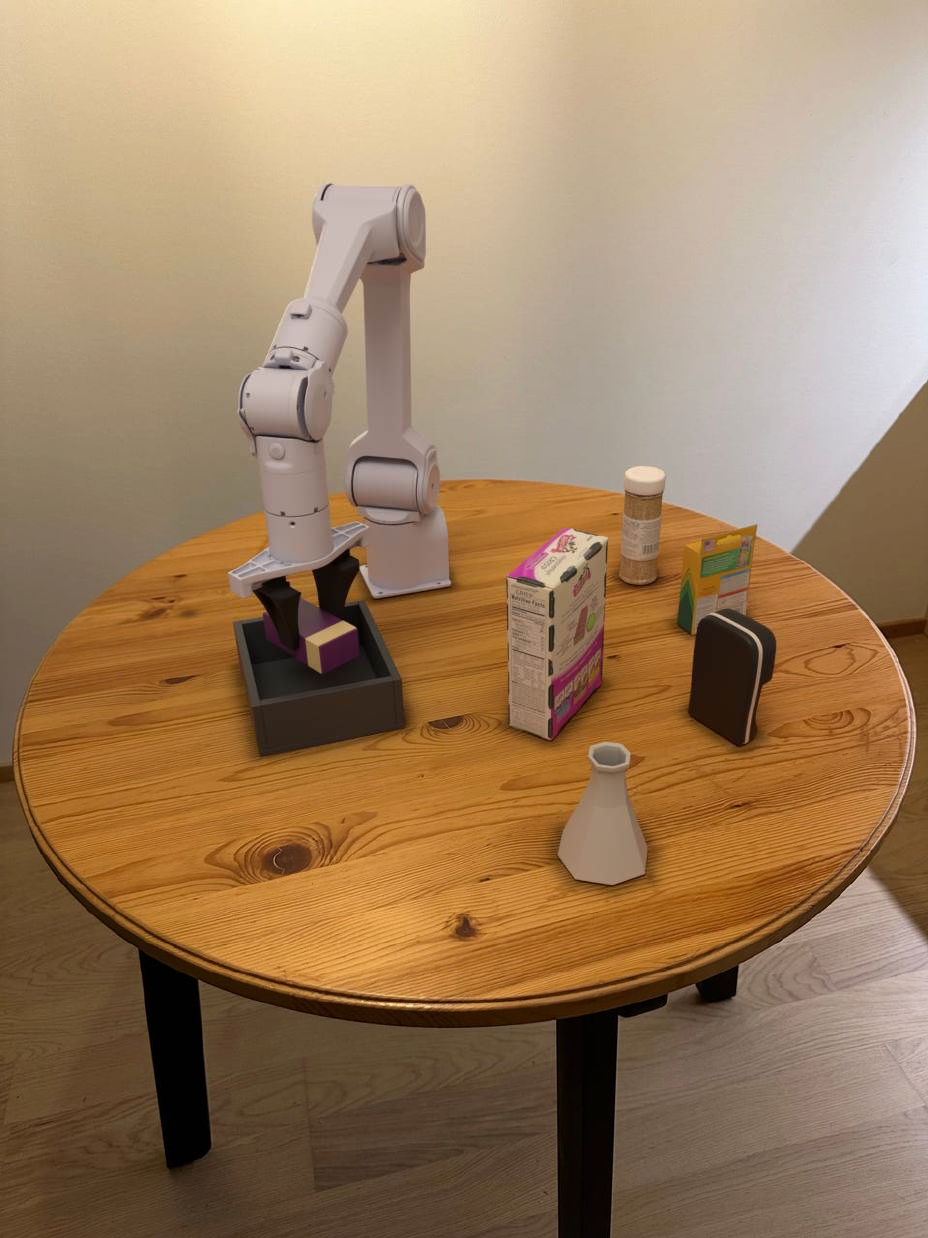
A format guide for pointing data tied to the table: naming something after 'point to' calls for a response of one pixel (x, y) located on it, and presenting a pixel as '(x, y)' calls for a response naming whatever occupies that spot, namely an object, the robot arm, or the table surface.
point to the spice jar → (641, 524)
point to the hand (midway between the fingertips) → (311, 635)
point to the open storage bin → (318, 689)
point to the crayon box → (715, 576)
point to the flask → (604, 823)
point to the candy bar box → (555, 631)
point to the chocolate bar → (319, 638)
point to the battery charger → (730, 672)
